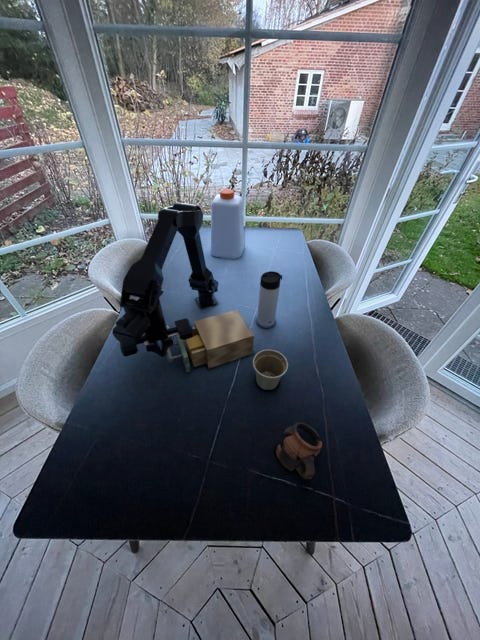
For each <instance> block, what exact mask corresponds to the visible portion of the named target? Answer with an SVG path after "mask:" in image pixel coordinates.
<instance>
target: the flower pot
mask: <svg viewBox="0 0 480 640" xmlns="http://www.w3.org/2000/svg"><path fill="white" fill-rule="evenodd" d="M252 366H253V369H254V370H255V377H256V379H255V380H256V384H257V385H258V387H259V388H261V389H262V390H264V391H265V390H267V391H269V390H270V391H272V390H274V389H275V388H277V386H278V385H279V383H280V380H281V379H282V377H283V376H284V375H286V373H287V371H288V369H289V368H288V367H289V362H288V360H287V357H286V356H285V355H284V354H283V353H281V352H280V351H278V350H274V349H262V350H260V351H258V352H257V353H256V354H255V355H254V356H253V359H252Z"/></svg>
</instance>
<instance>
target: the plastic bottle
mask: <svg viewBox="0 0 480 640" xmlns="http://www.w3.org/2000/svg"><path fill="white" fill-rule="evenodd" d="M210 210H211V211H210V254H211V255H212V256H213V257H216V258H221V259H222V258H223V259H228V260H229V259H231V260H235V259H239V258H241V257H242V255H243V252H244V250H245V225H244V224H245V223H244V202H243V197H242V196H241V195H237V194H235V191H234V189H230V188H224V189H220V191H219V194H216V196H215V197H214V198H213V199H212V200H211V203H210Z"/></svg>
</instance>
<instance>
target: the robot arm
mask: <svg viewBox="0 0 480 640" xmlns="http://www.w3.org/2000/svg"><path fill="white" fill-rule="evenodd" d="M203 224H204V212H203V210H202V207H201V206H199V205H198V204H192V203H186V202H174V203H173V205H170V206H165V207H164V208H161V209H159V210H158V214H157V221H156V223H155V226H154V228H153V230H152V233H151V235H150V237H149V239H148V242H147V244H146V246H145V249H144V251H143V254H142V256H141V257H140V259H138V260H137V261H136V262H134V263H133V264H131V266H130V267H129V269H128V271H127V272H126V274H125V276H124V278H123V280H122V287H121V294H120V301H119V307H120V308H123V307H124V308H126V309H127V312H126V313H125V312H124V314H123V315H122V316H121V317H119V318H118V320H117V321H115V326H114V327H113V328H112V333H111V334H112V336H113V337H114V339H115V340H116V341H118V342H119V348H120V352H121V354H122V356H123V357H124V358H126V357H131V356H133V355H137V353H138V352H139V348H138V345H141V344H143V345H144V346H145V350H146V352H148V353H150V352H152V353H154V354H156V355H158V356H159V357H161V358H164V357H166V352H167V350H168V349H169V348H171V347H172V346H171V345H173V344H174V343H175V342H174V339H173V337H175V336H176V335H178V333H179V337H180V339H182V341H185V340H186V339H189V338H192V337H193V336H194V333H193V329H192V327H193V326H192V324H191V321H190V319H189V318H187V317H186V318H182V319H181V318H180V319H177V320H174V325H175V326H174V327H173V326H172V327H169V325H167V324H166V318H165V316H164V311H163V308H162V304H161V300H160V297H161V296H162V295H163V294H164V291H163V290H162V288H163V283H164V274H163V268H164V264H165V261H166V259H167V258H168V254H169V252H170V250H171V247H172V244H173V242H174V239H175V237H176V235H177V232H178V234H180V235H181V237H182V239H183V243H184V246H185V250H186V254H187V257H188V261H189V265H190V269H191V273H190V275H189V277H188V280H187V281H188V283H189V288H191V290H193V291H197V296H196V298H195V299H196V302H197V303H198V306H199V307H200V309H204V308H208V307H212V306H216V305H218V302H217V300H216V299H215V297H214V295H215V293H218V292H219V281H218V280H216V279H215V278H214V273H213V272H212V271H211V270H210V269H209V268H208V267H207V265H206V264H207V263H206V259H205V254H204V249H203V244H202V239H201V234H200V230H201V228H202V226H203ZM130 296H134V297H139V299H138V300H133V299H129V298H130ZM124 308H123V309H124ZM159 341H160V344H159ZM170 346H171V347H170Z"/></svg>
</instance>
